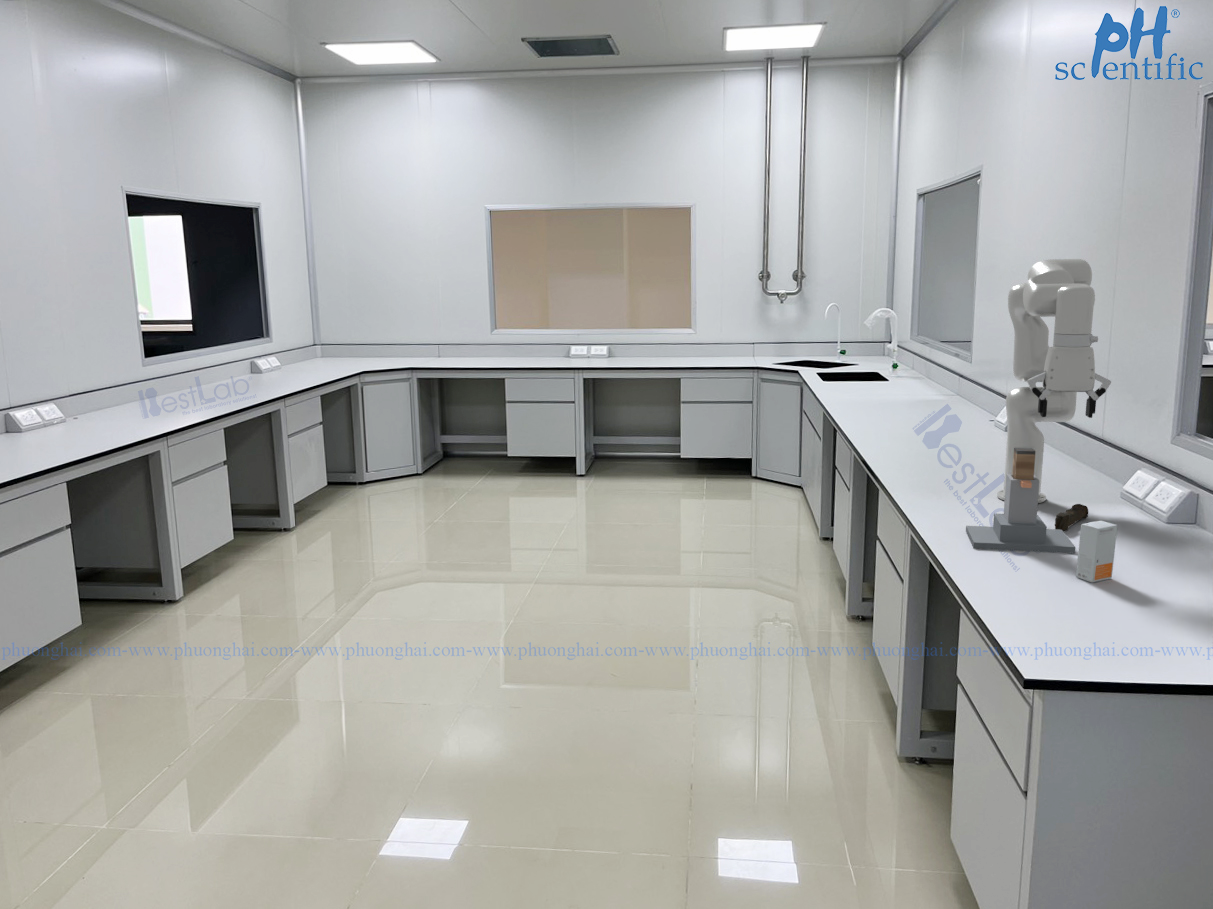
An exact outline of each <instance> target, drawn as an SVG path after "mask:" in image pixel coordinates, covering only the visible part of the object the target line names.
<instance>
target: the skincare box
mask: <svg viewBox="0 0 1213 909" xmlns="http://www.w3.org/2000/svg"><path fill="white" fill-rule="evenodd" d="M1117 532H1118V524H1114V523H1112V522H1108V521H1104V520H1096V521H1090V522H1088V523H1086V522H1085V523H1082V524H1081V525H1080V533H1079V534H1080V535H1079V543H1078V544H1079V545H1078V555H1077V563H1076V564H1077V565H1076V571H1075V572H1076V574H1075V577H1076V578H1078V579H1080V580H1084V581H1087V582H1090V583H1097V582H1101V581H1106V580H1112V579H1113V571H1114V570H1113V569H1114V561H1115V560H1114V559H1115V552H1116V551H1115V550H1116V541H1117V535H1118V533H1117Z"/></svg>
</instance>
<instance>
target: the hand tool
mask: <svg viewBox="0 0 1213 909" xmlns="http://www.w3.org/2000/svg"><path fill="white" fill-rule="evenodd" d="M1088 517H1089V508H1088V506H1087V505H1084V504H1081V503H1076V504H1073V505H1072V506H1071V508H1068V509H1066V511H1065V512H1059V513H1057V514H1056V515H1055V518H1054V519H1055V520H1054V522H1055V523H1054V526H1055V527H1054V529H1059V530H1062V531H1063V532H1064V533H1065V532H1067V531H1068V530H1069V527H1071V526H1073V525H1076V523H1077V522H1079V521H1080V520H1086V519H1088Z"/></svg>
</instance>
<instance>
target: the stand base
mask: <svg viewBox="0 0 1213 909" xmlns="http://www.w3.org/2000/svg"><path fill="white" fill-rule="evenodd" d="M1038 494H1039V480H1038V479H1037V477H1036V476H1035V475H1034V479H1033V480H1020V479H1013V477H1012V474H1006V488H1005V501H1004V506H1003V513H995V512H994V513H993V520H992V522H993V524H992V526H988V525H987V526H985V525H984V526H983V525H982V526H981V525H966V526H965V533H966V535H967V537H968V539H969V541H970V544H971V546H972V548H973V549H978V550H998V551H999V550H1001V551H1019V552H1040V553H1041V552H1042V553H1061V554H1062V553H1063V554H1075V553H1076V545H1075V544H1074V543H1073V542H1072V541H1071V540H1070V538H1069V537H1068V536H1067V534H1066V533H1065V531H1064V532H1063V531H1062V530H1059V529H1055V528H1054V529H1053V528H1052V529H1051V528H1047V525H1046V524H1045V523H1044V521H1043V519H1042V518H1041V517H1040V516H1039V515H1038V504H1039V503H1038Z"/></svg>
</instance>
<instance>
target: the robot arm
mask: <svg viewBox="0 0 1213 909" xmlns="http://www.w3.org/2000/svg"><path fill="white" fill-rule="evenodd" d="M1092 279H1093V272H1092V267H1091V265H1090V264H1089V262H1088V261H1086V260H1084V259H1082V258H1067V259H1066V258H1059V259H1056V258H1055V259H1043V260H1040V261H1037V262H1035V263H1034V264H1033V265H1032V266H1031V267H1030V269H1029V270H1028V274H1027V281H1026V283H1025V282H1024V283H1021V284H1020V283H1019V284H1016V285H1013V286H1012V287H1011V288H1010V290H1009V291H1008V294H1007V295H1008V297H1007V307H1008V312H1009V316H1010V319H1011V323H1012V326H1013V330H1014V331H1013V332H1014V341H1013V342H1014V345H1013V360H1012V361H1013V362H1012V364H1013V367H1012V368H1013V376H1014V378H1015V379H1016V380H1017V381H1019V382H1026V383H1027V385H1028V386H1023V387H1022V386H1021V387H1015V388H1013V389H1011V390H1010V391H1009V392H1008V393H1007V395H1006V398H1005V410H1006V422H1007V423H1006V424H1007V426H1006V428H1007V431H1006V449H1005V462H1004V476H1003V477H1004V478H1003V489H1001V490H999V491H997V495H996V497H997V498H999V500H1001V501H1004V502H1005V488H1006V474H1012V470H1013V455H1014V447H1018V448H1033V449H1034V450H1035V451H1036V452H1035V466H1034V475H1035V476H1036V477H1037V479H1038V480H1039V494H1038V504H1041V503H1044V502H1046V501H1047V495H1046V494H1045V493H1042V492H1041V489H1042V476H1043V464H1044V452H1045V451H1044V448H1045V436H1044V434H1043V433H1042V432H1043V431H1041V430H1040V428H1038V427H1037V425H1036V423H1043V422H1044V423H1066V422H1070V421H1071V420H1073V418H1074V416H1075V413H1076V409H1077V394H1078V393H1086V395H1087V396H1088V398H1087V399H1086V404H1085V405H1086V406H1085V416H1086V417H1088V418H1089V419H1092V418H1093V414H1096V409H1097V408H1096V407H1097V406H1096V405H1097V401H1098V400H1099V399H1100V397H1101V396H1103V395H1104V394H1105V393H1106V391H1107V390H1108V389H1109V387H1110V385H1111V383H1112V381H1111V380H1110V379H1108V378H1106V377H1104V376H1102V375H1100V374H1098V373H1096V366H1095V365H1096V363H1095V362H1096V360H1095V353H1094V352H1095V351H1094V347H1091V346H1092V345H1093V343H1098V341H1099V337H1098V336H1097V335H1093V334H1092V331H1093V330H1092V328H1093V317H1094V307H1095V301H1096V293H1095V289H1094V288H1093V287H1092V286H1091V285H1092V281H1093V280H1092ZM1042 317H1043V318H1044V317H1047V318H1049V317H1054V328H1053V340H1052V341H1053V342H1052V346H1049V335H1050V334H1049V333H1050V331H1049V326H1048V325H1047V324H1046V322H1045V321H1044V320H1043V318H1042ZM1095 381H1098V382H1100V383H1101V384H1100V386H1099V388H1097V389H1096V390H1094V387H1095ZM1037 383H1042V386H1036V384H1037Z"/></svg>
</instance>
